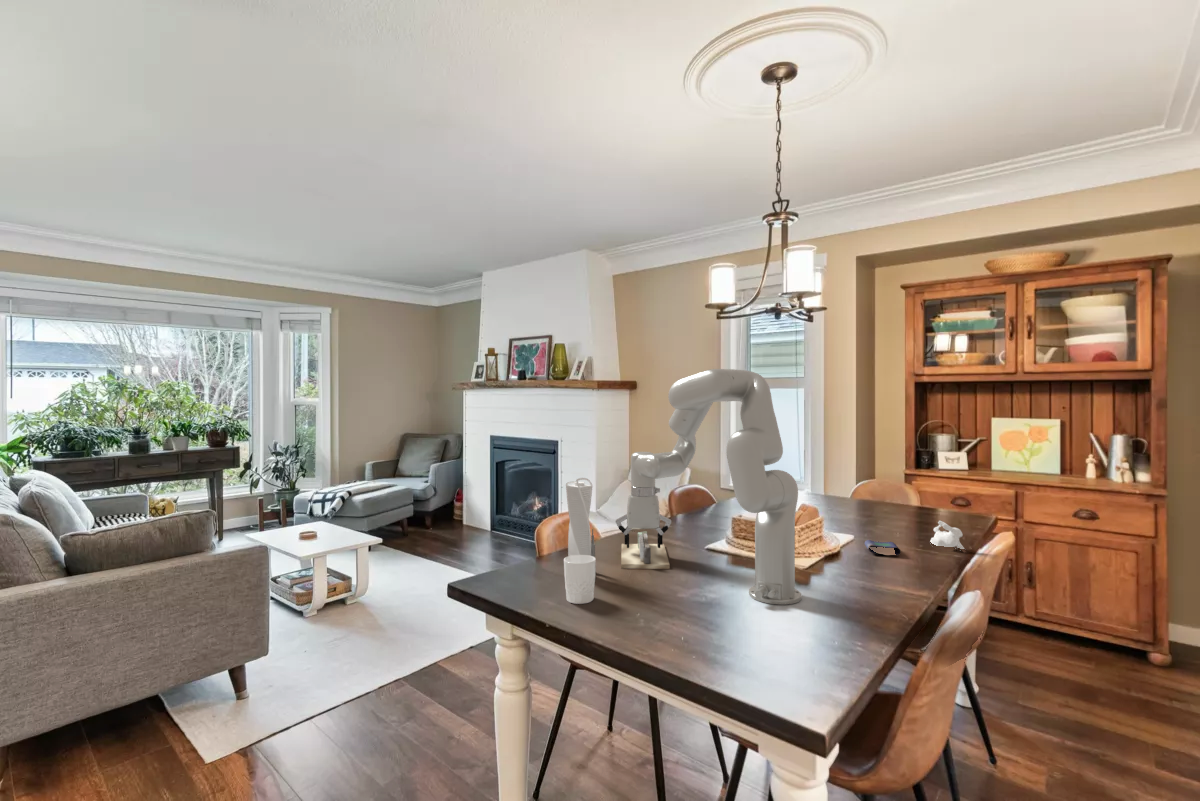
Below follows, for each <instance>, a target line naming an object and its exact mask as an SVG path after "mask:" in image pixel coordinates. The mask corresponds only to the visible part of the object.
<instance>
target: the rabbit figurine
mask: <svg viewBox="0 0 1200 801" xmlns="http://www.w3.org/2000/svg"><path fill="white" fill-rule="evenodd" d="M937 524H938V525H936V526H935V527H933V532H934V535H933V537H931V538H930V541H929V543H930V542H931V543H932V544H934V545H936V546H944V547H954V548H956V549H958V548H960V549H965V547H964V545H962V543H961V542H960V538H962V537H963V532H962V530H961V529H960V528H958V527H952V526H950V525H949V524H948V523H946V522H944V521H942V520H938V522H937ZM941 527H942V528H943V529H944V530H943V531H941V530H940V528H941ZM931 543H930V544H931Z"/></svg>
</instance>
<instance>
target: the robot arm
mask: <svg viewBox="0 0 1200 801" xmlns="http://www.w3.org/2000/svg"><path fill="white" fill-rule="evenodd" d="M668 402H669V403H670V405H671V406H672V407H673V408H674V410H673V413H672V414H671V417H670V418H669V420H668V427H669V428H670V430H671V431H672V432H673V433H675V434H676V435H678V439H677V441H676V444H675V445H674V447H673V448H672V451H668V452H666V451H665V452H658V453H657V452H656V453H653V452H651V451H635V452H633V453H631V456H630V495H628V498H627V508H626V514H624V515H623V516H620V517H619V518H616V519H615V521H614V522H615V524H616V526H617V528H618V530H619V531H620V532H621V533H622V534H623V535H624V544H625V545H627V548H629V544H630V532H631V530H655V531H656V532H657V544H658V548H660V545H662V544H664V542H663V535H664V534H665V533H666V532H667V531H668V530H669V528H670V526H671V524H672V520H671V519H670V518H668V517H666V516H664V515H662V514H660V513H661V512H660V502H659V497H658V495H656V494H658V493H660V492H661V487H657V486H656V480H658V479H659V480H660V479H664V478H665V479H666V478H672V477H678V476H680V475H682V474H683V473H684V472H685V471H686V470H687V468H688V467H689V465H690V463H691V461H692V460H693V458H694V457H695V453H696V449H697V439H696V434H697V432H698V431H699V428H700V426H701V424H703V421H704V420H705V418H706V416H707V415H708V412H709V411H710V409H711V407H712V405H713V403H715V402H718V403H719V402H741V406H740V414H739V415H740V420H741V424H742V429H739V430H736V431H735V432H734V433H733V434H731V436H730V437H729V439H728V441H727V443H726V453H725V454H726V459H727V463H728V469H729V473H730V478H731V483H732V486H733V491H734V496H735V498H736V501H737V503H738V504H739V506H740V507H741V508H742V509H743V510H745V511H746V512H748V513H751V514H756V516H755V522H754V523H755V524H754V568H755V569H754V570H755V571H754V572H755V573H754V574H755V575H754V576H755V578H754V580H755V582H754V585H753V586H751V587H749V589H748V595H749V597H751V598H752V599H753V600H755V601H757V602H759V603H760V602H761V603H763V604H765V603H766V604H770V605H781V606H785V605H793V604H797V603H799V602H801V600H802V592H800V591H799V590H798V589H796V588H795V587H796V571H795V570H796V568H795V567H796V566H795V565H796V564H795V562H796V561H795V560H796V559H795V558H796V556H795V555H796V554H795V549H796V548H795V541H796V540H795V538H796V537H795V536H796V535H795V534H796V533H795V532H796V531H795V530H796V527H795V526H796V525H795V523H796V512H797V506H798V499H799V487H798V483H797V481H796V479H795V478H794V477H793V476H792V475H791V474H790V473H788V472H787V471H785V470H780V469H770V470H766V468H765V466H771V465H774V464H775V463H777V462H779V461H780V460H781V458H783V457H782V456H783V453H784V447H783V442H782V441H783V440H782V437H781V434H780V429H779V425H778V421H777V416H776V413H775V410H774V405H773V399H772V393H771V389H770V386H769V383H768V382H767V380H766V379H765V378H764V377H763V376H762V375H760V374H759V373H757V372H755V371H750V370H745V369H734V368H733V369H731V368H730V369H729V368H728V369H727V368H726V369H725V368H713V369H707V370H703V371H700V372H697V373H694V374H691V375H689V376H685V377H682V378H680V379H678V380H676V381H675V382H673V384H672V385H671V386H670V388H669V390H668ZM623 521H626V524H627V526H626V527H624V525H622V523H623ZM661 521H663V522H665V525H663V526H662V527H661V526H660V524H661Z"/></svg>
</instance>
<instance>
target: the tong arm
mask: <svg viewBox="0 0 1200 801" xmlns="http://www.w3.org/2000/svg"><path fill="white" fill-rule="evenodd" d="M637 544H638V548H639V556H640V561H644V542H643V531H640V532H639V531H638V532H637Z"/></svg>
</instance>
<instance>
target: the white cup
mask: <svg viewBox="0 0 1200 801" xmlns="http://www.w3.org/2000/svg"><path fill="white" fill-rule="evenodd" d="M596 560H597V559H596V556H595V557H593V556H589V555H572V556H566V557H564V558H563V571H564V572H563V574H564V584H565V586H564V587H565V598H566V601H567V602H568V603H570V604H571V603H572V604H575V605H576V604H577V605H578V604H579V605H582V604H588V603H591V602H592V601H593V600H594V599H595V598H594V597H595V585H596V583H595V582H596V579H595V564H596V565H597V561H596Z"/></svg>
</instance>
